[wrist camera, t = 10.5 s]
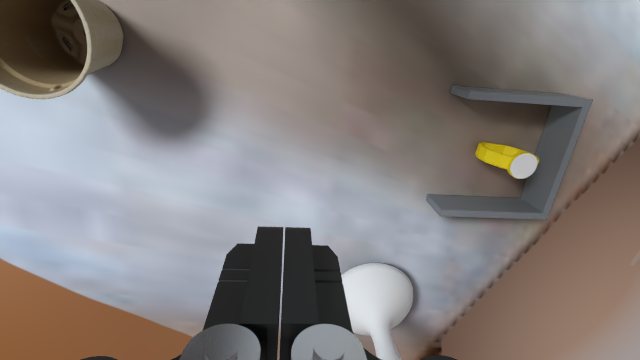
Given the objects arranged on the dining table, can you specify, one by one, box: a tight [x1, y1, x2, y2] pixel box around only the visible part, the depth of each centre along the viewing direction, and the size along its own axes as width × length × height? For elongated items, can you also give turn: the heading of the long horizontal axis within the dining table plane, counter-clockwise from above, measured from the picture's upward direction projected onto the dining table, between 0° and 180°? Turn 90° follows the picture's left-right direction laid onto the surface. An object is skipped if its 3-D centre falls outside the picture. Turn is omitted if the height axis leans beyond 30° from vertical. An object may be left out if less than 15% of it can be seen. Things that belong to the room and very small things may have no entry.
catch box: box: [426, 86, 593, 220], centre depth 36 cm, size 14×13×4 cm
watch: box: [475, 142, 539, 179], centre depth 36 cm, size 6×3×6 cm, turn 81°
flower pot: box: [0, 0, 123, 99], centre depth 27 cm, size 9×9×9 cm
